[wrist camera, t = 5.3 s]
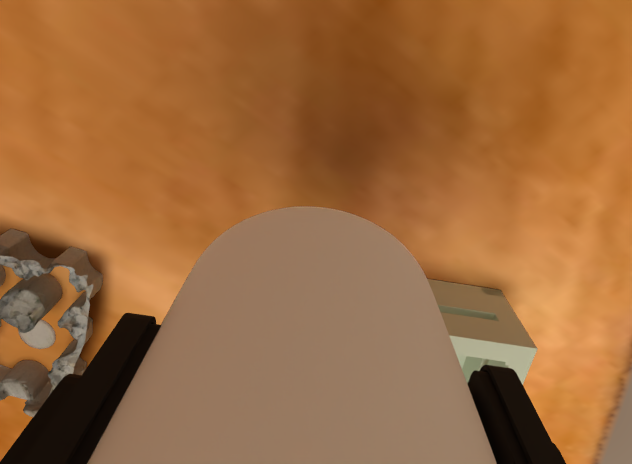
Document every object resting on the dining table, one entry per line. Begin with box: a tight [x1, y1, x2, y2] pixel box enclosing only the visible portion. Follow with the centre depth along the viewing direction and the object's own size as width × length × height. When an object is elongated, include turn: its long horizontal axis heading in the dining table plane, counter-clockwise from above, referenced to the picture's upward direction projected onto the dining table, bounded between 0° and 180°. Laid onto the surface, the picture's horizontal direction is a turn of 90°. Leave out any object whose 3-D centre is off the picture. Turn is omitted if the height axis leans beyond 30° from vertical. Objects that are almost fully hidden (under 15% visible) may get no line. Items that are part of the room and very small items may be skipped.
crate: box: [427, 279, 537, 385], centre depth 29 cm, size 18×14×6 cm
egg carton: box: [0, 229, 103, 417], centre depth 28 cm, size 11×8×4 cm
